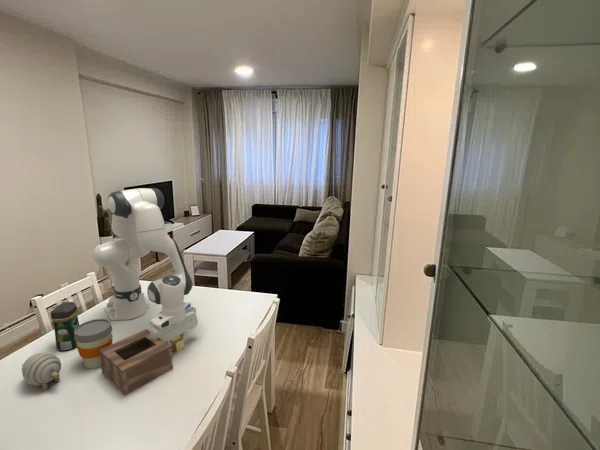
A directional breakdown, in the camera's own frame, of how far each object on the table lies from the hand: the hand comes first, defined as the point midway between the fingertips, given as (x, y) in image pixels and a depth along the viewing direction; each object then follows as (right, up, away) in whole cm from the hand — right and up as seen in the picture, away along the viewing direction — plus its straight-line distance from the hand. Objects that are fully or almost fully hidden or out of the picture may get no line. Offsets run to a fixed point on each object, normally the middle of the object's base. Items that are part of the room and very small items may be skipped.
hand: (176, 344), depth 137 cm
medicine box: (-4, +3, +21) cm, 21 cm away
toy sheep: (-39, -7, -21) cm, 45 cm away
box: (-9, -5, -13) cm, 17 cm away
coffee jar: (-46, -1, +1) cm, 46 cm away
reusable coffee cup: (-28, -4, -8) cm, 30 cm away
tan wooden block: (0, -2, 0) cm, 2 cm away
